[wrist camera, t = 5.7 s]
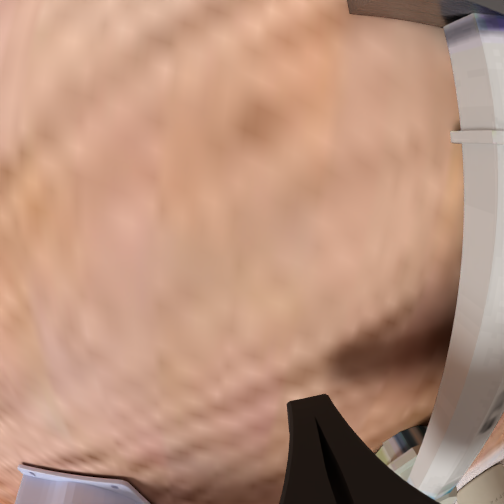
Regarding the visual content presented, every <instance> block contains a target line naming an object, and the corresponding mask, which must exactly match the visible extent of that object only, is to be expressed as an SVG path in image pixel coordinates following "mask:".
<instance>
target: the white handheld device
mask: <svg viewBox="0 0 504 504" xmlns="http://www.w3.org/2000/svg"><path fill="white" fill-rule="evenodd" d="M443 28H444V32H445V36H446V40H447V45H448V49H449V54H450V59H451V64H452V69H453V75H454V81H455V87H456V94H457V101H458V109H459V117H460V127H461V131H450V136H451V143H458V144H462V152H463V171H464V228H463V247H462V261H461V272H460V281H459V290H458V297H457V305H456V311H455V318H454V324H453V329H452V335H451V340H450V345H449V350H448V354H447V359H446V363H445V368H444V372H443V376H442V380H441V384H440V388H439V391H438V395H437V398H436V402H435V405H434V409H433V412H432V415H431V418H430V421H429V424H428V426H415V427H412V428H410V429H407V430H404V431H401V432H399V433H398V434H396V435H395V436H393V437H391V438H390V439H388V440H387V441H385V442H383V446H382V447H381V448H380V450H379V451H378V452H377V453H376V454H375V455H376V456H377V457H378V458H379V459H380V460H381V461H382V462H383V463H385V464H386V465H387V466H388V467H389V468H390V469H391V470H393V471H394V472H395V473H396V474H397V475H399V476H400V477H401V478H402V479H404V480H405V481H406V482H408V483H409V484H410V485H412V486H413V487H415V488H416V489H418V490H419V491H421V492H422V493H424V494H426V495H427V496H429V497H430V498H432V499H433V500H435V501H437V502H439V503H441V504H455V503H456V501H457V488H456V485H457V483H458V482H459V481H460V479H461V478H462V477H463V475H464V474H465V472H466V471H467V470H468V468H469V467H470V465H471V464H472V463H473V461H474V460H475V458H476V457H477V455H478V454H479V452H480V451H481V449H482V447H483V446H484V444H485V443H486V441H487V440H488V438H489V436H490V435H491V433H492V431H493V430H494V428H495V426H496V424H497V423H498V421H499V419H500V417H501V416H502V414H503V412H504V16H498V15H489V14H478V13H472V14H470V15H468V16H466V17H463V18H461V19H459V20H457V21H454V22H452V23H450V24H448V25H446V26H444V27H443Z"/></svg>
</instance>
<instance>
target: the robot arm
mask: <svg viewBox="0 0 504 504" xmlns="http://www.w3.org/2000/svg"><path fill="white" fill-rule="evenodd" d="M287 412H288V423H289V433H290V440H289V453H288V462H287V469H286V475H285V481H284V486H283V490H282V495H281V499H280V503H279V504H441V503H439V502H437V501H435V500H433V499H432V498H430V497H429V496H427V495H426V494H424V493H422V492H421V491H419V490H418V489H416V488H415V487H413V486H412V485H410V484H409V483H408V482H406V481H405V480H404V479H402V478H401V477H400V476H399V475H397V474H396V473H395V472H394V471H393V470H391V469H390V468H389V467H388V466H387V465H386V464H385V463H383V462H382V461H381V460H380V459H379V458H378V457H377V456H376V455H375V454H374V453H373V452H372V451H371V450H370V449H369V448H368V447H367V446H366V445H365V443H364V442H363V441H362V440H361V439H360V438H359V437H358V435H357V434H356V433H355V432H354V431H353V430H352V428H351V427H350V426H349V425H348V423H347V422H346V421H345V420H344V418H343V417H342V416H341V414H340V413H339V411H338V410H337V409H336V407H335V406H334V404H333V403H332V401H331V399H330V398H329V396H328V395H326V394H322V395H318V396H313V397H308V398H304V399H299V400H294V401H290V402H288V403H287ZM18 470H19V471H20V472H21V473H22V474H24V475H23V478H22V481H21V484H20V488H19V491H18V494H17V498H16V501H15V504H150V503H149V502H148V501H147V500H146V499H145V498H144V497H143V496H142V495H141V494H140V493H139V492H138V491H137V490H136V489H135V488H134V487H133V486H132V485H131V484H130V483H128V482H127V481H124V480H119V479H107V478H97V477H88V476H80V475H73V474H67V473H61V472H55V471H50V470H44V469H39V468H35V467H30V466H26V465H22V464H19V465H18Z"/></svg>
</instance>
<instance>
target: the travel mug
mask: <svg viewBox="0 0 504 504" xmlns="http://www.w3.org/2000/svg"><path fill="white" fill-rule="evenodd" d="M457 502H458V504H504V467H503V465H502V464H498V465H495V466H493V467H491V468H489V469H487V470H486V471H484V472H483V473H481V474H480V475H478V476H477V477H475V478H474V479H473V480H471V481H470V482H469V483H467V484H466V485H465V486H464V487H462V488H461V489H460V490H459V491H458V493H457Z"/></svg>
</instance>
